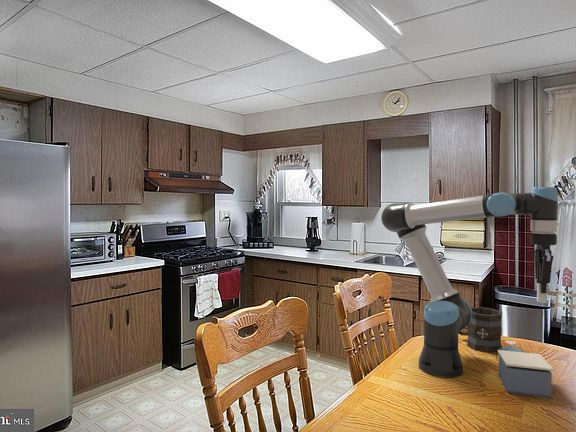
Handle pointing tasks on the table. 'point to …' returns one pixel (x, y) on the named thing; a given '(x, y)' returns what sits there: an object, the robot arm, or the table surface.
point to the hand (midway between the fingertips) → (542, 301)
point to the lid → (524, 360)
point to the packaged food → (512, 349)
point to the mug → (484, 330)
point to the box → (525, 380)
